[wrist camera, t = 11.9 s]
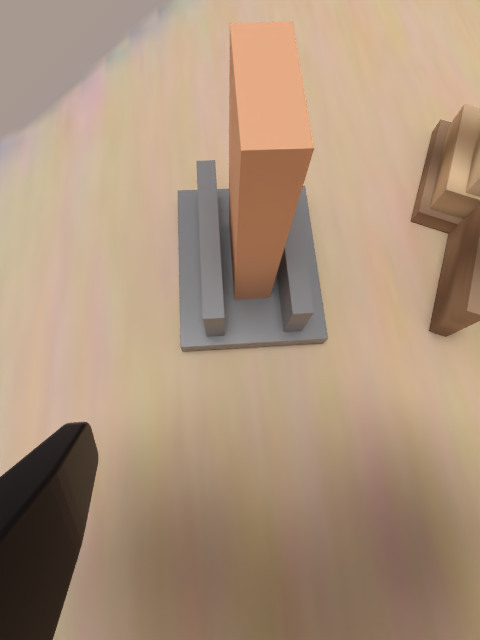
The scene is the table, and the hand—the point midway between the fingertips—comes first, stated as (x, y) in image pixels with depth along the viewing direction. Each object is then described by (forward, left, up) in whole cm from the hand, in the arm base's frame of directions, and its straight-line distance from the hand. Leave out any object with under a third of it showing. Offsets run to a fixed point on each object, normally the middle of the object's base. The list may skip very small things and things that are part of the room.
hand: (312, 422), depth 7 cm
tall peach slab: (+9, -3, -11) cm, 15 cm away
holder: (+9, -3, -12) cm, 15 cm away
